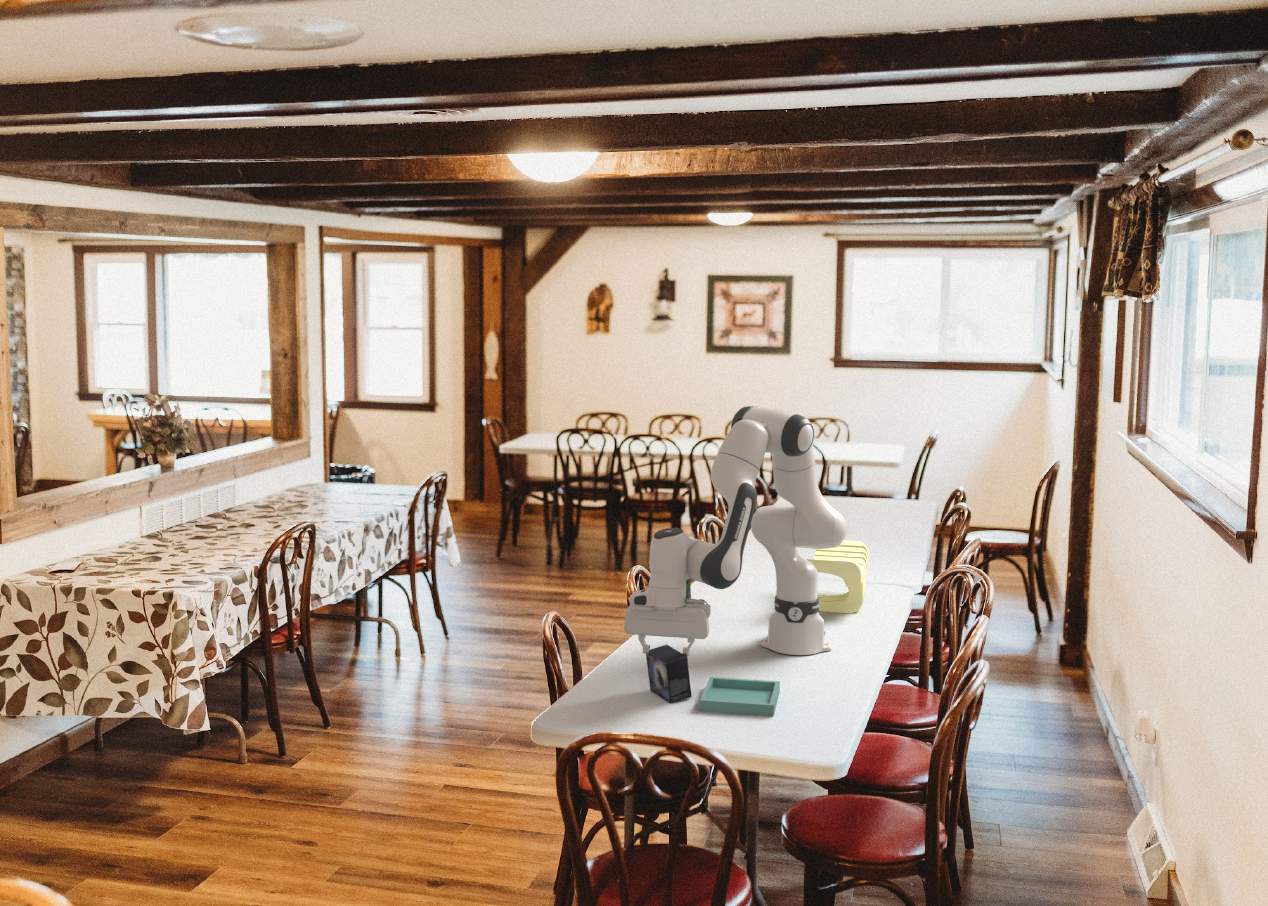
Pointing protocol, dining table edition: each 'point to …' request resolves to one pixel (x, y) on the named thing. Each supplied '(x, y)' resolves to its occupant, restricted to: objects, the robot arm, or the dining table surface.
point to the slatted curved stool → (843, 575)
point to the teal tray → (740, 696)
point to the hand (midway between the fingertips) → (666, 654)
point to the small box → (668, 674)
